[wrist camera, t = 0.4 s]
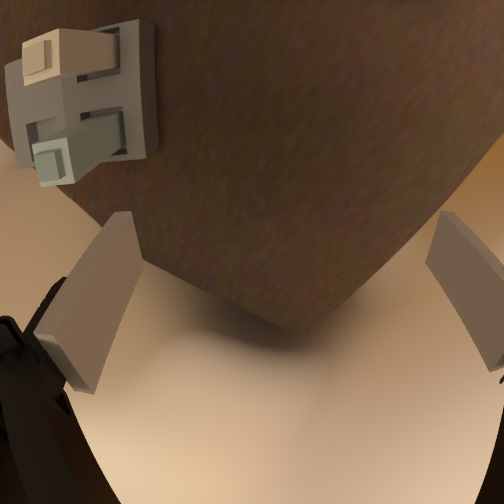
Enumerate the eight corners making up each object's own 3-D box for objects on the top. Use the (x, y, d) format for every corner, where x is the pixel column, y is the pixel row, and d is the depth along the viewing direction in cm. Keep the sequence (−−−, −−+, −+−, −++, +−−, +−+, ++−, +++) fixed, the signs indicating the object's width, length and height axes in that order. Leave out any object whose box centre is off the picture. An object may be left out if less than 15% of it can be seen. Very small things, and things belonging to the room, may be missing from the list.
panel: (17, 63, 27) (-7, 67, 22) (154, 24, 27) (139, 19, 23) (29, 162, 36) (8, 175, 31) (159, 146, 36) (146, 158, 32)
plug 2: (95, 114, 31) (25, 148, 19) (125, 110, 31) (60, 140, 19) (99, 145, 33) (34, 191, 21) (128, 142, 33) (69, 187, 21)
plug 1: (91, 42, 25) (15, 43, 14) (121, 35, 25) (52, 28, 14) (92, 73, 28) (17, 88, 16) (122, 67, 28) (53, 75, 16)
